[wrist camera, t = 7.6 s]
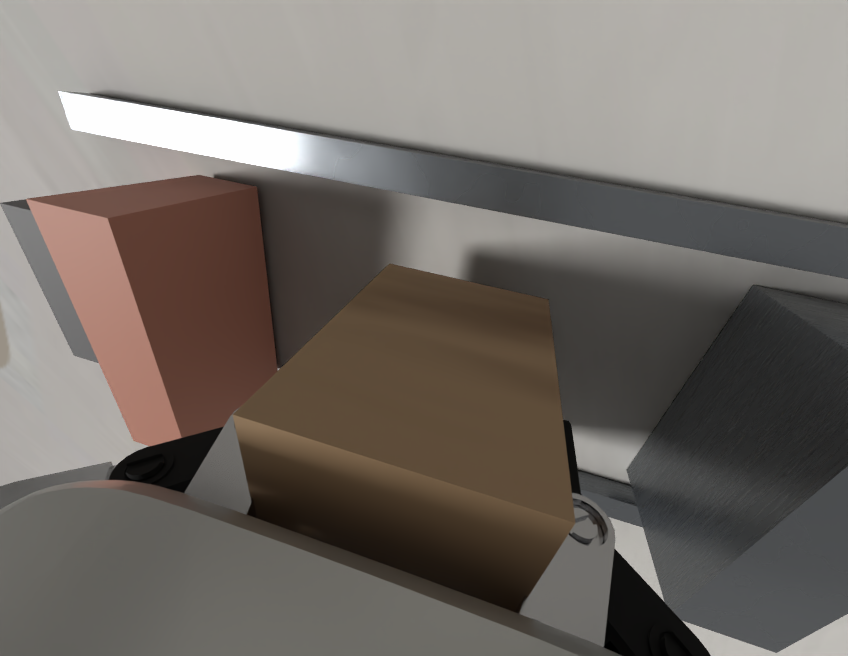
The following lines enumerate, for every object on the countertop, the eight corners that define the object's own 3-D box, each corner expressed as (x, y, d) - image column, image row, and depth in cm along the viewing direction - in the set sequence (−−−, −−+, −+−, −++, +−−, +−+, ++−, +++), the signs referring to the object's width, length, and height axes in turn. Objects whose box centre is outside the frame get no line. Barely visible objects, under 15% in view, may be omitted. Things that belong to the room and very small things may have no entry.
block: (389, 263, 11) (232, 414, 5) (548, 299, 10) (575, 523, 4) (376, 419, 15) (274, 612, 9) (493, 454, 14) (468, 690, 8)
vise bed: (87, 93, 13) (-149, 73, 9) (927, 238, 9) (1333, 347, 5) (172, 366, 20) (66, 437, 16) (674, 518, 16) (734, 675, 11)
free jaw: (97, 154, 14) (-113, 166, 10) (256, 186, 13) (107, 218, 8) (156, 338, 19) (35, 406, 14) (277, 373, 18) (189, 459, 13)
